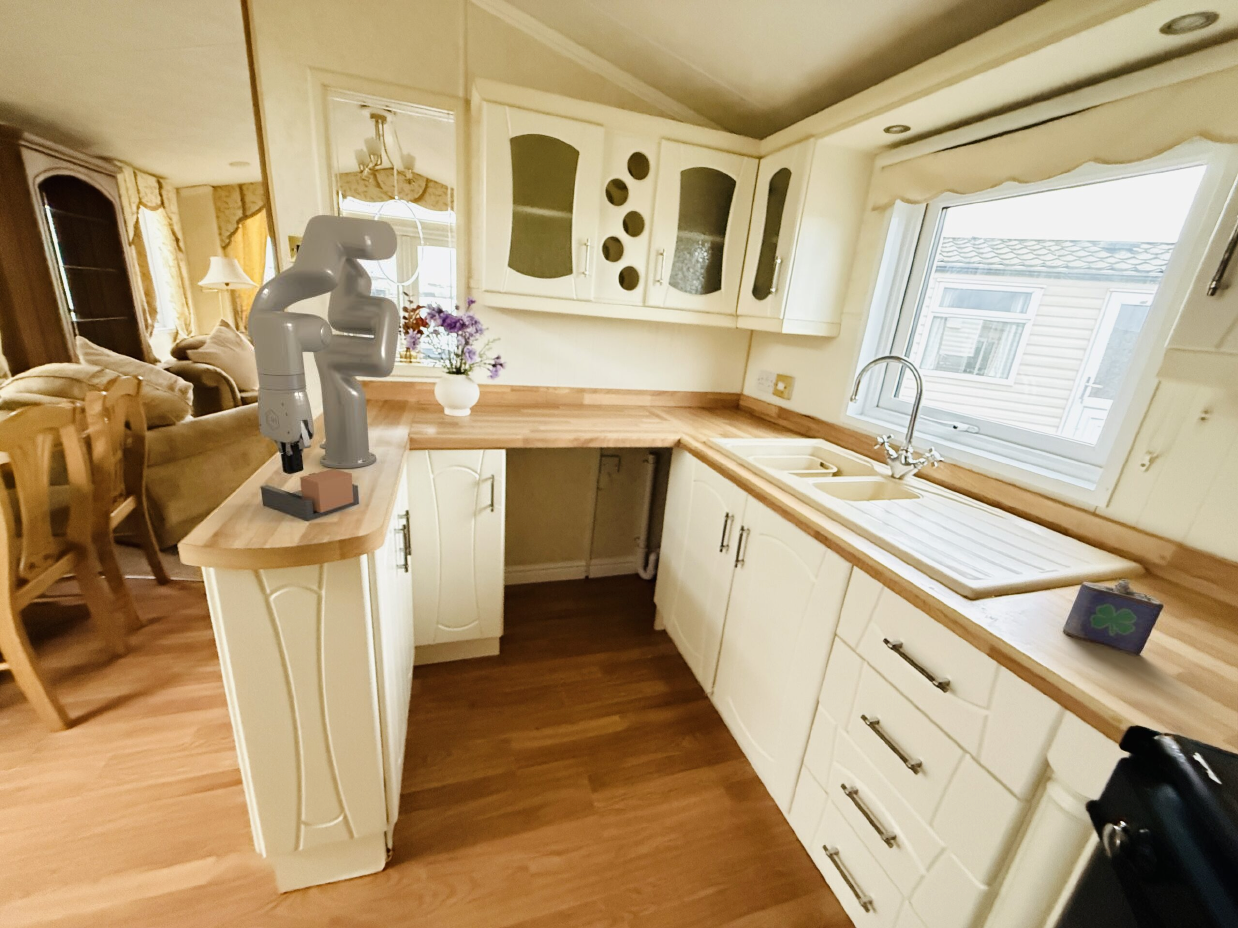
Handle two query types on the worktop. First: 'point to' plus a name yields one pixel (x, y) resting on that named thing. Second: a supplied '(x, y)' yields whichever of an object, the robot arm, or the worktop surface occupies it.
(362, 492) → the worktop surface
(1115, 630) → the flask
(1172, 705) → the worktop surface
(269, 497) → the chute
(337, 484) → the block
